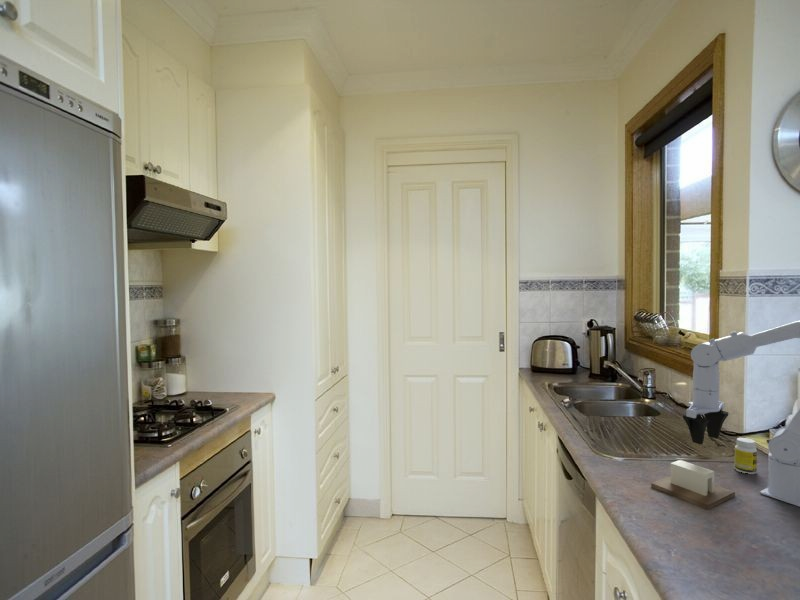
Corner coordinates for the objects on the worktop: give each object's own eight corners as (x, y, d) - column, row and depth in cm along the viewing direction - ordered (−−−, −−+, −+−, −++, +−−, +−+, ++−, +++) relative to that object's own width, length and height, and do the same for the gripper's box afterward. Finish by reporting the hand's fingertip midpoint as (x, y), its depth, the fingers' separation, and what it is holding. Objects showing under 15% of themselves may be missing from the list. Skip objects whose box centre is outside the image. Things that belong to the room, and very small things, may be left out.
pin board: (734, 495, 107) (734, 482, 107) (707, 509, 101) (707, 495, 101) (678, 475, 118) (678, 463, 118) (651, 486, 112) (651, 474, 112)
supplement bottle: (756, 476, 117) (757, 444, 117) (734, 471, 120) (734, 440, 120) (756, 470, 121) (756, 439, 121) (734, 465, 124) (735, 435, 124)
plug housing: (714, 491, 107) (714, 471, 107) (705, 495, 105) (705, 474, 105) (679, 479, 114) (679, 459, 114) (670, 482, 112) (670, 463, 112)
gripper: (704, 382, 124) (703, 430, 125) (674, 389, 117) (674, 440, 118) (733, 387, 118) (732, 438, 119) (703, 395, 111) (703, 449, 112)
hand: (705, 440), depth 118 cm, fingers open, 7 cm apart
